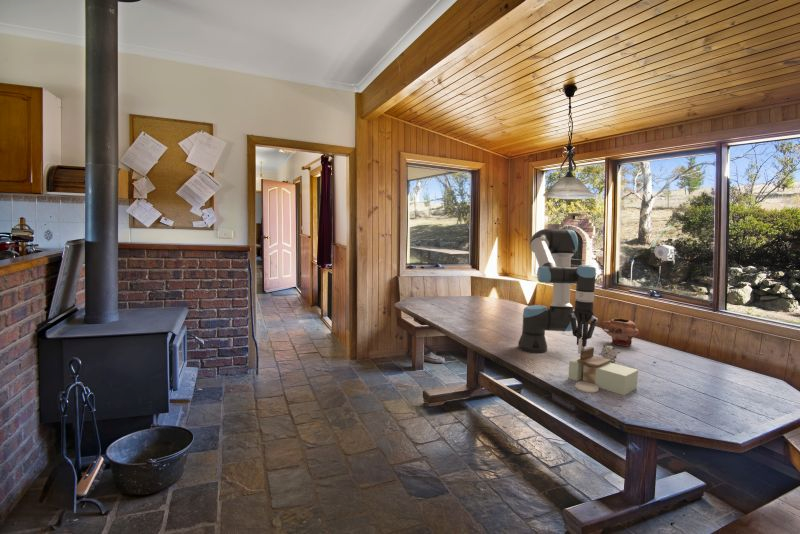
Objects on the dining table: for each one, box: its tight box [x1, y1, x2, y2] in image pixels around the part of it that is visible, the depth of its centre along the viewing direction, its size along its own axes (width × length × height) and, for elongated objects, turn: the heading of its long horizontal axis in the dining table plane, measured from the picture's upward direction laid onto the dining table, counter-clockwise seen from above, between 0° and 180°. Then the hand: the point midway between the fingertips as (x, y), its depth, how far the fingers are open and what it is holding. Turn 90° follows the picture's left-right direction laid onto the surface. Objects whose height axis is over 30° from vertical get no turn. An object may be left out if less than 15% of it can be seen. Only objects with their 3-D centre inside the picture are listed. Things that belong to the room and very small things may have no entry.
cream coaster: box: [575, 381, 600, 394], centre depth 186 cm, size 9×9×1 cm
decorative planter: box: [600, 318, 640, 347], centre depth 254 cm, size 20×12×14 cm, turn 53°
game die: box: [598, 343, 620, 362], centre depth 223 cm, size 9×8×10 cm
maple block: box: [582, 364, 597, 384], centre depth 196 cm, size 6×6×7 cm
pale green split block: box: [567, 356, 639, 396], centre depth 192 cm, size 24×12×8 cm, turn 41°
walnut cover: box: [577, 346, 612, 368], centre depth 195 cm, size 9×12×5 cm
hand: (580, 352), depth 199 cm, fingers closed
